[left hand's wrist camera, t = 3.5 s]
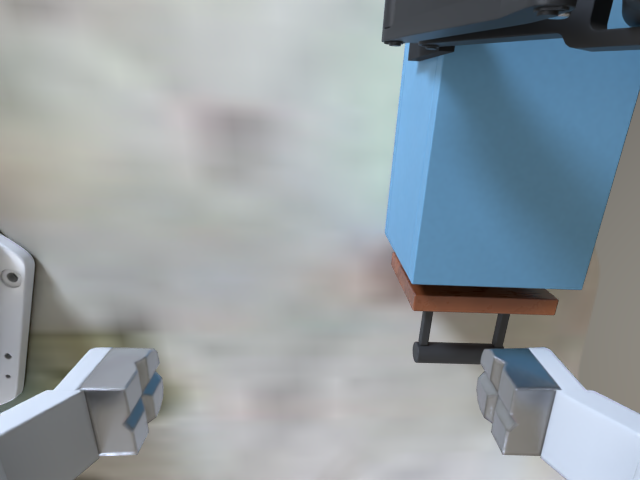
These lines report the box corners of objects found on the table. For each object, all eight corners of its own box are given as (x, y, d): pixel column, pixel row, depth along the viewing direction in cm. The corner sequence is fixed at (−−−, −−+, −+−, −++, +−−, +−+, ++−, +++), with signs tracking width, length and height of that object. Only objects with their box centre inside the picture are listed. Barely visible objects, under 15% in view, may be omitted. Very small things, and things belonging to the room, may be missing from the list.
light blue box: (511, 238, 35) (582, 290, 26) (384, 233, 35) (411, 284, 26) (568, -25, 29) (689, -79, 20) (413, -35, 28) (463, -95, 19)
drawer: (491, 328, 37) (535, 386, 30) (383, 325, 37) (402, 383, 29) (555, 32, 29) (637, 12, 22) (418, 23, 29) (456, 0, 21)
